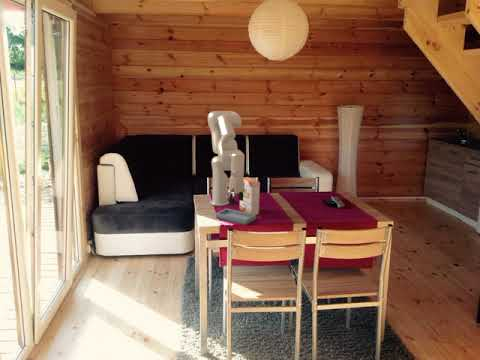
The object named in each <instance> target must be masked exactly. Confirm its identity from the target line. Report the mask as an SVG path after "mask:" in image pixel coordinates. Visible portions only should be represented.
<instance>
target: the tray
mask: <svg viewBox="0 0 480 360" xmlns="http://www.w3.org/2000/svg"><path fill="white" fill-rule="evenodd" d="M256 218H257V215H255V214H250V213H245V212H243V211H242V210H240V211H239V210H235V209H232V208H231V209H230V208H224V209H221V210H220V211H217V212H216V213H215V219H219V220H223V221H228V222H230V223H231V222H232V223H234V224H235V223H236V224H240V225H244V226H247V225H249V224H250V223H252V222H254V221H256V220H257V219H256Z"/></svg>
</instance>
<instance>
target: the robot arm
mask: <svg viewBox="0 0 480 360" xmlns="http://www.w3.org/2000/svg"><path fill="white" fill-rule="evenodd" d="M207 124H208V127H209V130H210V133H211V144H212V145H211V146H212V152H213V153H214V154H217V156H214V157H213V158H212V159H211V169H212V194H211V195H212V199H211V200H210V201H209V203H210V204H211V205H212V206H219V207H221V206H227V205H229V204H230V205H232V206H233V205H235V203H236V202H235V201H236V200H235V196H236V195H238V196H237V199H238V201H240V200H241V201H243V194H244V189H245V185H244V178H245V177H244V175H245V154H244V152H242V151H241V150H240V149H238V143H237V141H236V140H235V138H236V133H235V128H240V127H241V126H242V117H241V116H240V114H238V113H237V112H235V111H232V110H216V111H210V112H209V113H208V115H207ZM225 171H230V177H229V181H228V175H227V174H226V173H225ZM228 182H229V183H228ZM228 199H229V200H228Z"/></svg>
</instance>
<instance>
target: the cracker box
mask: <svg viewBox="0 0 480 360" xmlns="http://www.w3.org/2000/svg"><path fill="white" fill-rule="evenodd" d="M244 185H245V189H244V194H243V201H241V200H239V210H240V211H241V212H245V213H250V214H255V215H256V216H258V215H260V191H261V190H260V188H261V182H260V181H258V180H255V179H254V178H252V177H251V178H250V177H249V176H246V177H244Z"/></svg>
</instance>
